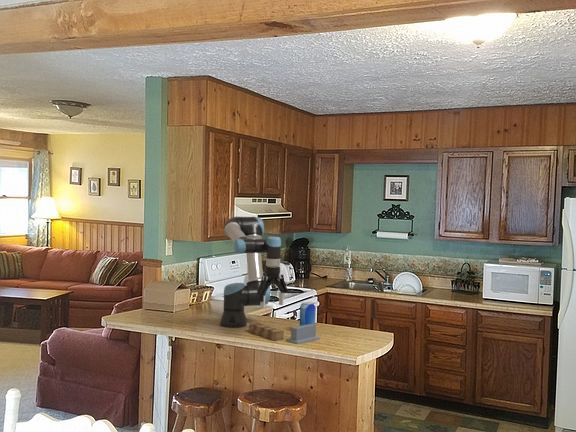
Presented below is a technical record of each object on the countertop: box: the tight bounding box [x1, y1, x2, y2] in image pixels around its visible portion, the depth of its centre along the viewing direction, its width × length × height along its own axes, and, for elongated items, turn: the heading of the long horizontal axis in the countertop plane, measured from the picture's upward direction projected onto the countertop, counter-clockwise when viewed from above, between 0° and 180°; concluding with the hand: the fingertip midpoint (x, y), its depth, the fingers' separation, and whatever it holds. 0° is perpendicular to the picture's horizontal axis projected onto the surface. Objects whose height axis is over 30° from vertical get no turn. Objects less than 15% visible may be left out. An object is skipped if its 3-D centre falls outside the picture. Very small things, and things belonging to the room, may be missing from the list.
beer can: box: [299, 301, 316, 326], centre depth 322 cm, size 8×8×16 cm
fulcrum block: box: [286, 324, 321, 345], centre depth 304 cm, size 8×16×7 cm, turn 134°
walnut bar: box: [248, 322, 285, 342], centre depth 311 cm, size 24×5×5 cm, turn 38°
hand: (272, 306), depth 311 cm, fingers open, 13 cm apart
